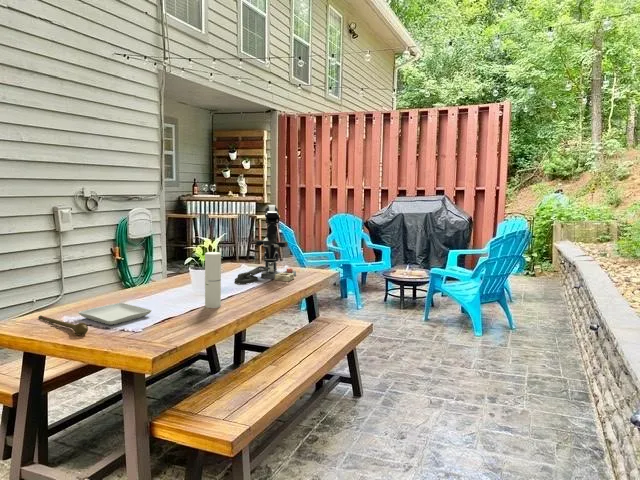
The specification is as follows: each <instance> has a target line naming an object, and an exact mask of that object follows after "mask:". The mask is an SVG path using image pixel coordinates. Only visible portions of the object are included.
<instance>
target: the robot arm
mask: <svg viewBox="0 0 640 480" xmlns="http://www.w3.org/2000/svg"><path fill="white" fill-rule="evenodd" d="M264 217H265V224H266V225H267V226H266V235H265V238H264V239H262V240H261V239H259V240H256V242H255V246H259V247H261V246H262V245H263V246H262V248H264V249H265V251H264V253H263V254H264V256H263V258H264V259H263V261H264V262H265V266H264V267H268V262H273V263H274V271H276V270H277V264H278V263H277V262H278V261H279V254H278V250H279V248H286V247H288V242H287V241H278V240H277V237H278V234H277V232H278V225H277V224H279V223H280V214H279V209H278V208H277V205H275V204H268V205H267V207H266V208H265V209H264ZM275 269H276V270H275Z"/></svg>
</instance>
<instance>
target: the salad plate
mask: <svg viewBox="0 0 640 480" xmlns="http://www.w3.org/2000/svg"><path fill="white" fill-rule="evenodd" d="M77 313H78V315H80V316H81V317H83V318H85V319H87V320H91V321H93V320H94V321H93V322H97V321H98V322H97V323H100V322H101V324H104V323H105V325H109V326H111V325H112V326H113V324H114V325H118V323H119V324H122V323H125V321H126V322H129V320H130V321H133V320H137V319H140V318H143V317H146V316H147V315H149V314H151V313H152V309H150V308H144V307H141V306H137V305H132V304H128V303H125V302H117V303H114V304H113V303H112V304H107V305H103V306H98V307H97V306H96V307H92V308H89V309H85V310H81V311H78V312H77ZM136 318H137V319H136ZM132 319H133V320H132ZM121 322H122V323H121Z"/></svg>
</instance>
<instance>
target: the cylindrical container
mask: <svg viewBox="0 0 640 480" xmlns="http://www.w3.org/2000/svg"><path fill="white" fill-rule="evenodd" d="M204 275H205V276H204V307H205V308H208V309H217V308H220V307H222V306H221V302H222V301H221V300H222V299H221V298H222V297H221V295H222V293H221V292H222V282H221V281H222V279H221V278H222V253H221V252H219V251H218V252H217V251H207V252H205V253H204Z"/></svg>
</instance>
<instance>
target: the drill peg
mask: <svg viewBox="0 0 640 480" xmlns="http://www.w3.org/2000/svg"><path fill="white" fill-rule="evenodd" d="M268 267H269V269H268V270H267V271H268V273H269V274H273V272H275V270H274V263H273V262H268Z"/></svg>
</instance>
